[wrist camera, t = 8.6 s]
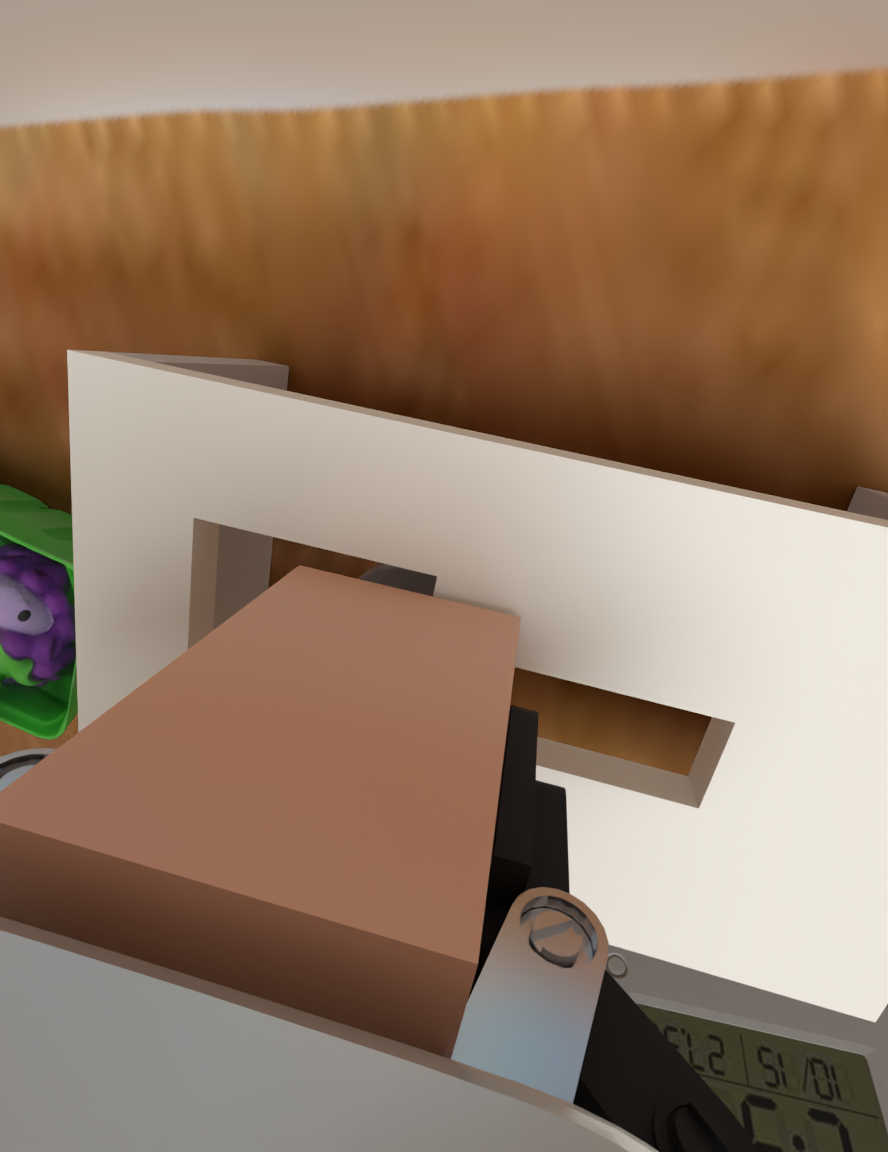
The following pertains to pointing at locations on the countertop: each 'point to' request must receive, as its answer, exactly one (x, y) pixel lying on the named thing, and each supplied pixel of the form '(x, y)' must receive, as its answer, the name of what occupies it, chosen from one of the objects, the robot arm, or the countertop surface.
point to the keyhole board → (543, 635)
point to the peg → (289, 806)
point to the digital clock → (770, 1056)
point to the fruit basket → (36, 616)
